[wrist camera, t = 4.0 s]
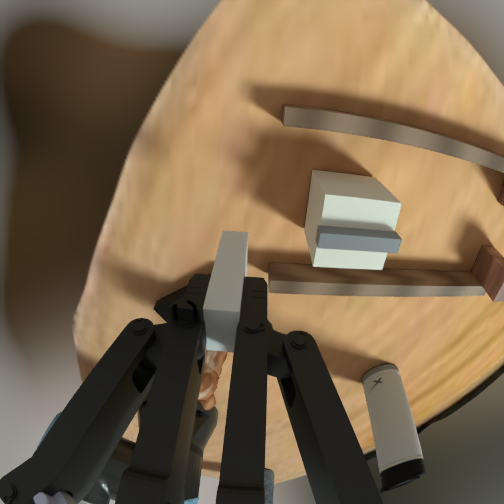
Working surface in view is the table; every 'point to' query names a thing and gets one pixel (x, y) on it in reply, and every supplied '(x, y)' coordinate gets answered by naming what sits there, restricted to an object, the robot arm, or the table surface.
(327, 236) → the block
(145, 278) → the table surface
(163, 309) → the figurine
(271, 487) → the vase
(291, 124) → the guide
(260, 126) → the table surface
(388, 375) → the travel mug
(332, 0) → the table surface
